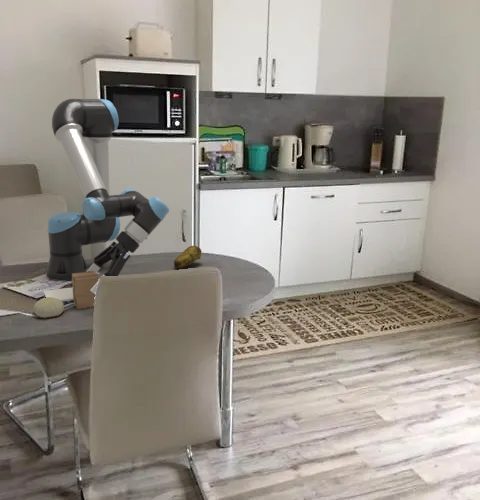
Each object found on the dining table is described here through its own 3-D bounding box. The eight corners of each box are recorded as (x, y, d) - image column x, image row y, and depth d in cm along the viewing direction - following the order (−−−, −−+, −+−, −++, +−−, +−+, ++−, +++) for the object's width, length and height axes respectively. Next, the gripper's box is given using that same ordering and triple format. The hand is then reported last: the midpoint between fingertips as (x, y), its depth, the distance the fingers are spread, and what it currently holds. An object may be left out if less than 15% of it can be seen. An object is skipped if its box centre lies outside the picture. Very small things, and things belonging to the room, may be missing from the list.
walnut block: (73, 302, 188) (71, 273, 185) (94, 299, 191) (93, 271, 188) (77, 309, 182) (75, 279, 179) (99, 306, 185) (98, 277, 182)
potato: (168, 265, 229) (168, 246, 227) (197, 261, 235) (197, 243, 233) (176, 271, 222) (176, 251, 220) (206, 267, 228) (206, 248, 226)
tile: (43, 294, 194) (43, 290, 193) (76, 290, 198) (76, 286, 198) (48, 305, 184) (48, 301, 184) (82, 300, 189) (82, 297, 189)
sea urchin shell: (35, 316, 171) (32, 292, 174) (34, 326, 177) (32, 303, 180) (66, 312, 174) (62, 289, 178) (65, 322, 181) (61, 299, 184)
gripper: (151, 253, 178) (106, 305, 175) (129, 235, 199) (88, 281, 196) (135, 239, 174) (88, 291, 171) (113, 222, 195) (72, 269, 193)
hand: (88, 286), depth 184 cm, fingers open, 13 cm apart
